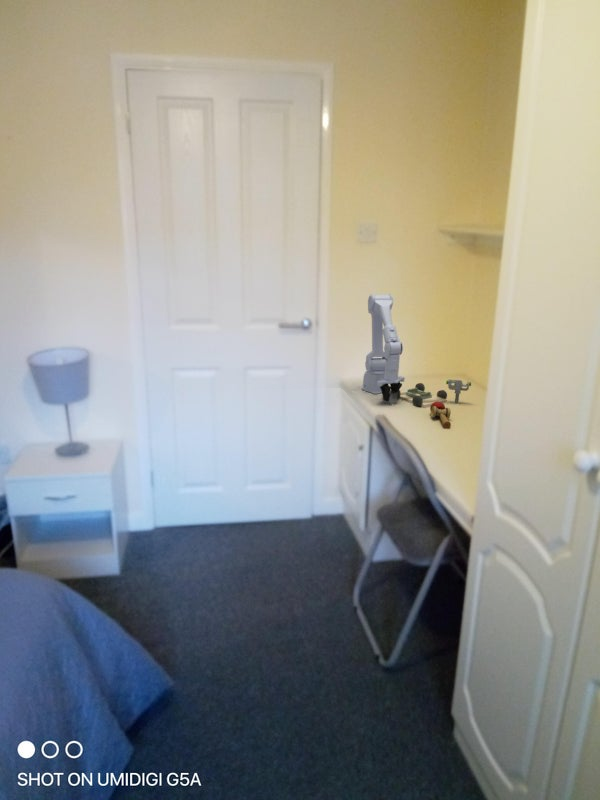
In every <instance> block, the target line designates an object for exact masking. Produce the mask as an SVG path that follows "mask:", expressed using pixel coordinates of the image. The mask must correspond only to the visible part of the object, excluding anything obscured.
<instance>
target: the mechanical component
mask: <svg viewBox="0 0 600 800" xmlns="http://www.w3.org/2000/svg"><path fill="white" fill-rule="evenodd" d="M445 382H446V383H445V385H447V387H448V389H449V390H451V391H453V390H454V394H455V397H454V404H456V403H458V404H459V401H460V395H461V391H463V392H464V391H465V392H467V391H468V390H469V388H470V387H471V386H472V382H471V381H467V383H466V384H464V383H463V381H462V380H459V379H448V380H446V381H445ZM463 387H464V388H463ZM465 387H466V388H465Z"/></svg>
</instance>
